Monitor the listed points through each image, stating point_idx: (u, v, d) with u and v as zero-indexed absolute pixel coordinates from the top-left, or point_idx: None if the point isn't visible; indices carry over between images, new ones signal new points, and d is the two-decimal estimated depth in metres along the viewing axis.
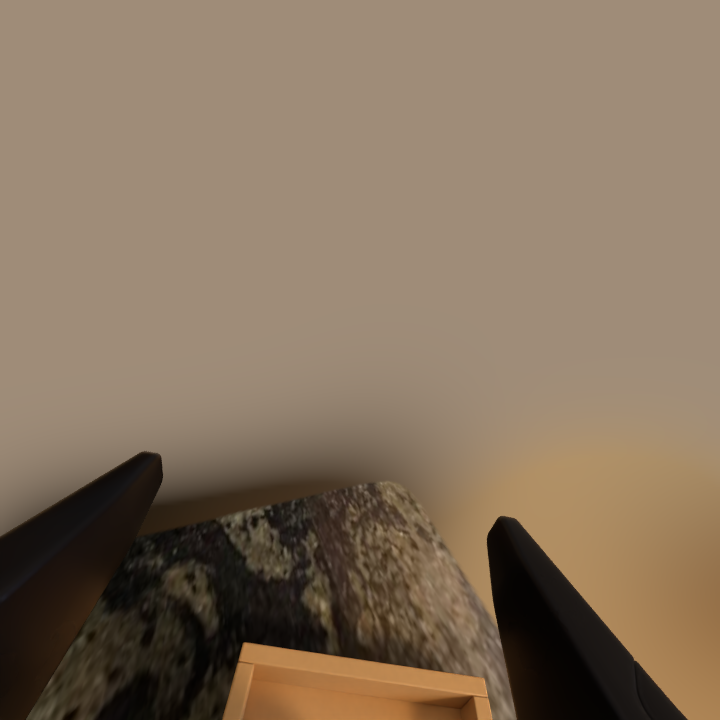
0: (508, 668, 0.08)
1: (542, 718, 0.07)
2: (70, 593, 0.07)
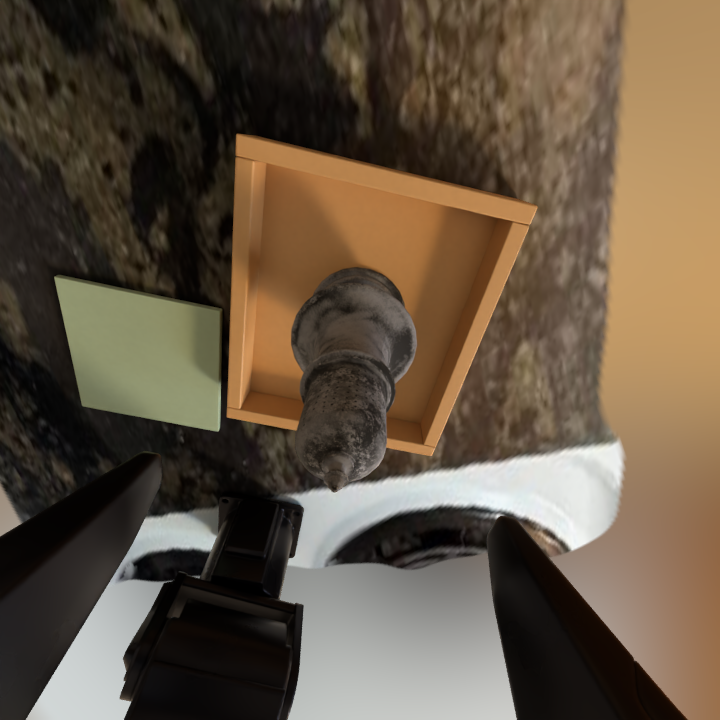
0: (508, 668, 0.08)
1: (542, 718, 0.07)
2: (70, 593, 0.07)
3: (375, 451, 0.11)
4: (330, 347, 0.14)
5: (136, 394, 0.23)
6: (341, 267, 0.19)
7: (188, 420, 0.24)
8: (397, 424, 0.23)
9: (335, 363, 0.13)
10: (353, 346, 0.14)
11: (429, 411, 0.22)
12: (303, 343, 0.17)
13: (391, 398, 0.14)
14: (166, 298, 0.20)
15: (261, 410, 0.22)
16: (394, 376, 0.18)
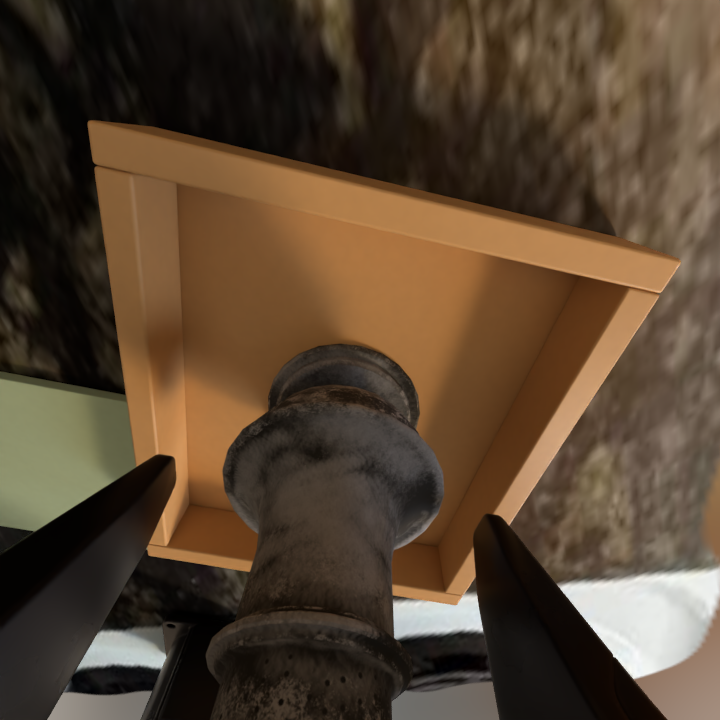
0: (491, 665, 0.08)
1: (523, 715, 0.07)
2: (89, 596, 0.07)
3: None
4: (274, 565, 0.07)
5: (26, 505, 0.16)
6: (316, 343, 0.12)
7: None
8: (405, 552, 0.16)
9: (275, 648, 0.06)
10: (322, 574, 0.06)
11: (453, 542, 0.15)
12: (244, 494, 0.09)
13: (403, 685, 0.06)
14: (47, 382, 0.13)
15: (200, 544, 0.14)
16: (404, 538, 0.10)
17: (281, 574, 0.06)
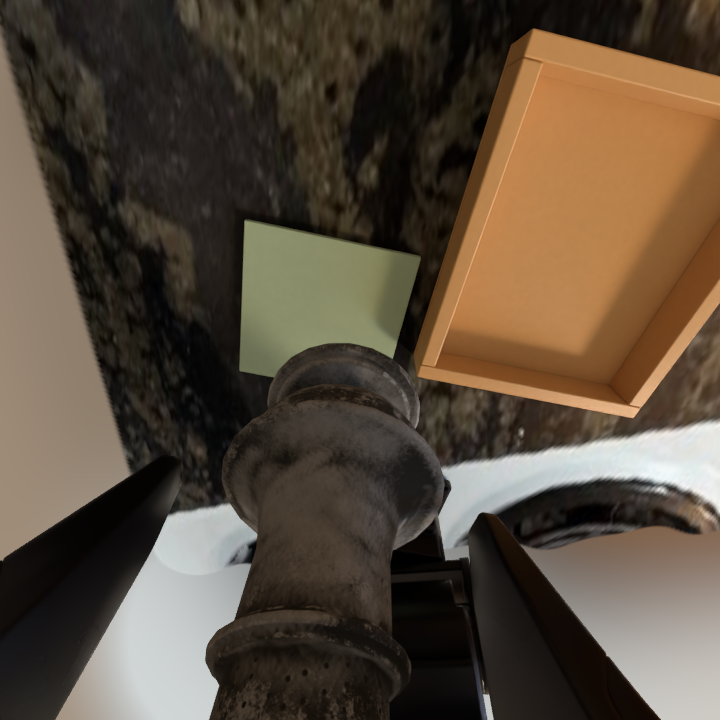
0: (486, 665, 0.08)
1: (516, 715, 0.07)
2: (96, 597, 0.07)
3: None
4: (253, 575, 0.07)
5: None
6: (573, 202, 0.17)
7: None
8: (589, 385, 0.21)
9: (244, 653, 0.06)
10: (289, 573, 0.06)
11: (633, 369, 0.20)
12: (252, 516, 0.10)
13: (402, 669, 0.06)
14: None
15: (454, 368, 0.20)
16: (423, 518, 0.10)
17: (256, 582, 0.07)
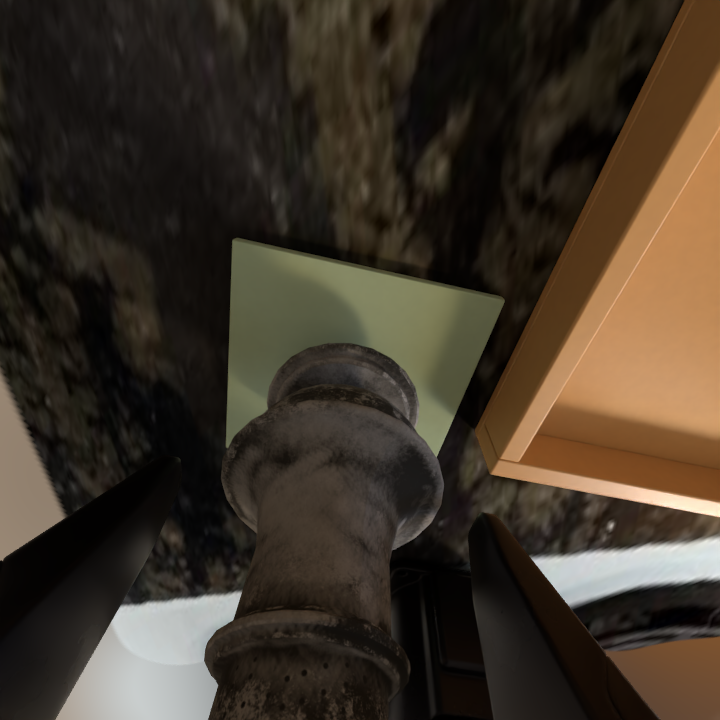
0: (486, 665, 0.08)
1: (516, 714, 0.07)
2: (96, 597, 0.07)
3: None
4: (252, 575, 0.07)
5: None
6: None
7: None
8: None
9: (244, 653, 0.06)
10: (289, 573, 0.06)
11: None
12: (252, 515, 0.10)
13: (401, 669, 0.06)
14: (414, 278, 0.12)
15: (546, 462, 0.13)
16: (422, 518, 0.10)
17: (255, 582, 0.07)
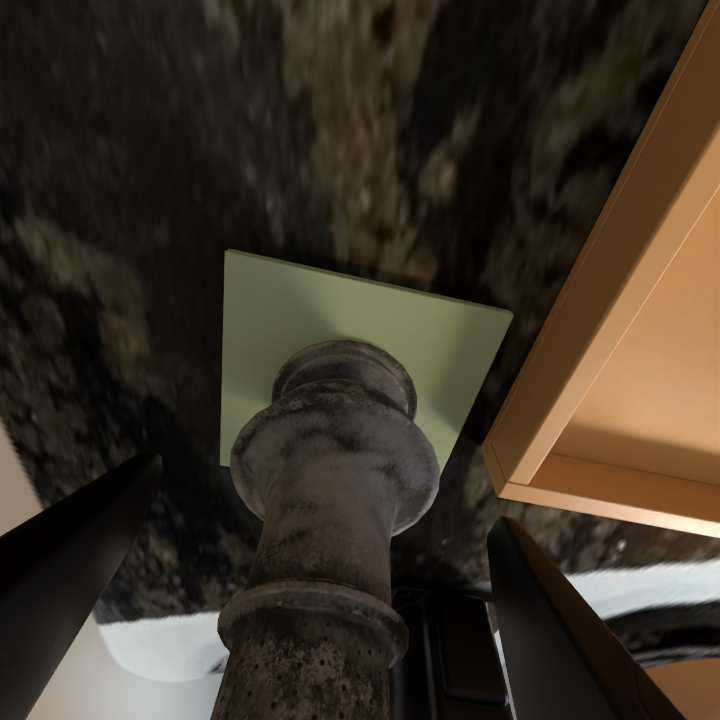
0: (508, 668, 0.08)
1: (542, 718, 0.07)
2: (70, 593, 0.07)
3: None
4: (305, 538, 0.07)
5: None
6: None
7: None
8: None
9: (313, 613, 0.06)
10: (352, 556, 0.07)
11: None
12: (253, 461, 0.10)
13: None
14: (418, 291, 0.11)
15: (556, 484, 0.13)
16: None
17: (314, 548, 0.07)
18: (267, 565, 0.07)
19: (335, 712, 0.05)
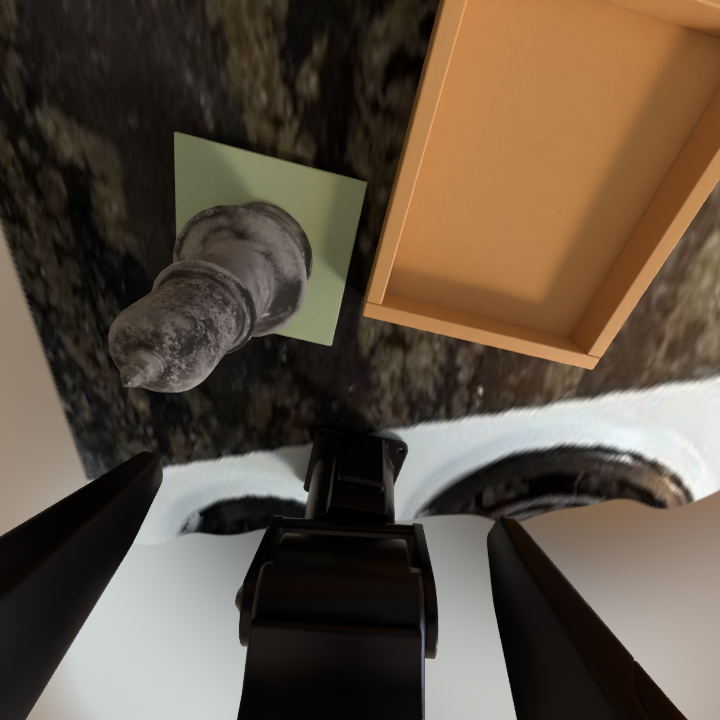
0: (508, 668, 0.08)
1: (542, 718, 0.07)
2: (70, 593, 0.07)
3: (194, 365, 0.10)
4: None
5: None
6: (528, 122, 0.16)
7: (299, 330, 0.21)
8: (548, 335, 0.20)
9: (197, 273, 0.12)
10: (227, 267, 0.13)
11: (594, 316, 0.19)
12: (186, 255, 0.15)
13: (248, 333, 0.13)
14: (303, 165, 0.17)
15: (403, 308, 0.18)
16: (273, 325, 0.17)
17: None
18: None
19: (197, 291, 0.11)
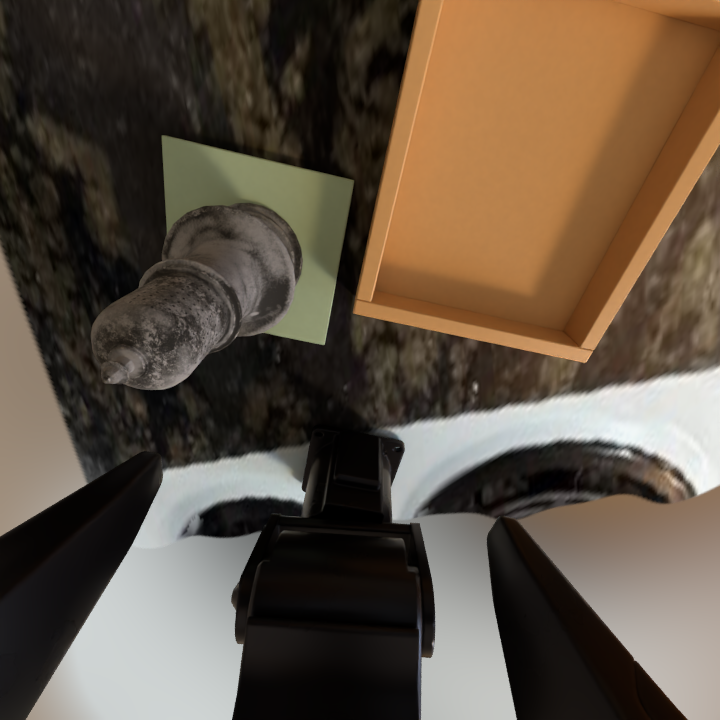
0: (508, 668, 0.08)
1: (542, 718, 0.07)
2: (70, 593, 0.07)
3: (176, 361, 0.10)
4: None
5: None
6: (512, 115, 0.16)
7: (292, 330, 0.21)
8: (540, 329, 0.20)
9: (180, 271, 0.12)
10: (212, 266, 0.13)
11: (585, 309, 0.19)
12: (174, 256, 0.15)
13: (234, 331, 0.13)
14: (290, 165, 0.17)
15: (393, 305, 0.18)
16: (263, 324, 0.17)
17: None
18: None
19: (180, 288, 0.11)
